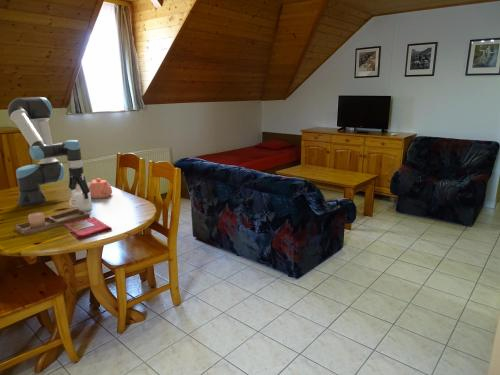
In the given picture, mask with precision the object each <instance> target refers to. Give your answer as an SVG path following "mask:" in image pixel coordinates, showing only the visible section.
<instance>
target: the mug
mask: <svg viewBox="0 0 500 375" xmlns="http://www.w3.org/2000/svg"><path fill="white" fill-rule="evenodd" d="M82 193H83V192H82V190H80V191H77V192H76V193H75V196H73V197H72V196H71V197H70V198H69V201H68V203H69V206H70V207H71V208H73V209H80V210H82V211H85V212H88V211H90V210H92V209H93V204H92V203H93V202H92V198H91V194H90V192H89V193H88V199H89V204H86V205H84V201H83V194H82ZM74 198H76V200H75V203H76V205H74V204H73V202H72V201H73V199H74Z"/></svg>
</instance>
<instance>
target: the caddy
mask: <svg viewBox="0 0 500 375" xmlns="http://www.w3.org/2000/svg"><path fill="white" fill-rule="evenodd" d="M44 218H45V223H46V225H44V226H41V227H37V228H34V229H30V223H29V221H27V222H22V223H17V224H14V229H15V231H17V232H19V233H20V234H22V235H23V236H28V235H32V234H35V233H39V232H43V231H46V230H49V229H54V228H56V227H60V226H65V225H64V223H72V222H76V221H80V220H83V219H87V218H91V216H90V213H89V212H88V211H82V210H80V209H77V208H74V209H71V210H67V211H64V212H60V213H56V214H52V215H49V216H48V215H47V216H44Z"/></svg>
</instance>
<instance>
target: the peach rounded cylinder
mask: <svg viewBox="0 0 500 375" xmlns="http://www.w3.org/2000/svg"><path fill="white" fill-rule="evenodd" d="M44 217H45V213H44V212H43V211H38V212H32V213H29V214H28V216H27V218H28V222H29V223H30V229H34V228H37V227H41V226H44V225H46V223H45V218H44Z"/></svg>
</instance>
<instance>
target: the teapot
mask: <svg viewBox="0 0 500 375" xmlns="http://www.w3.org/2000/svg"><path fill="white" fill-rule="evenodd" d="M88 188H89V191H90V194H91V199H97V200H98V199H103V198H104V199H105V198H109V197H110V196H111V195H112V193H113V188H112V186H111V185H110V183H109V182H108V181H107V180H106V179H102V178H100V177H99V178H96V179H94V178H93V179H91V182H90V183H89V186H88Z"/></svg>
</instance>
